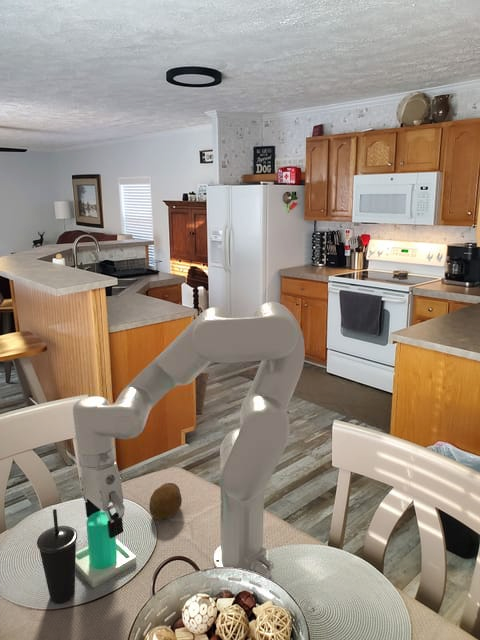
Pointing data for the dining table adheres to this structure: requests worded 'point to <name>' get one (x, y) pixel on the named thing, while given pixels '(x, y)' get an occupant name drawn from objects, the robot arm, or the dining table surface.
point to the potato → (165, 501)
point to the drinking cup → (59, 560)
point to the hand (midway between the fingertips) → (104, 524)
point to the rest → (102, 575)
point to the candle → (100, 541)
